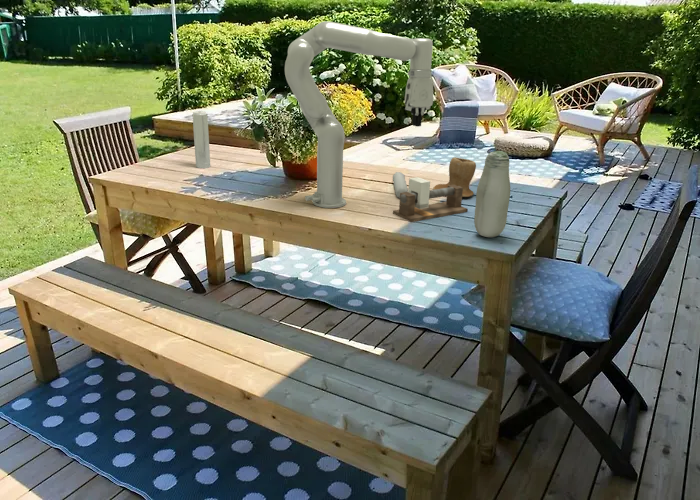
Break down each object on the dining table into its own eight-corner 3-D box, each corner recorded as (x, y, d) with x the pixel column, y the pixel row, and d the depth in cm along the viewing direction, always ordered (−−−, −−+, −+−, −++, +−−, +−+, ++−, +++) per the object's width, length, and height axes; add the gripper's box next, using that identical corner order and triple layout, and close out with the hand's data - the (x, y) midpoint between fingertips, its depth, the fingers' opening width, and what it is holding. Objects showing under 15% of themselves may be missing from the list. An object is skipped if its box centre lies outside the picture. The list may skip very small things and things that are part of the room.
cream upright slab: (419, 209, 215) (421, 182, 211) (407, 204, 220) (409, 178, 217) (428, 207, 217) (430, 181, 213) (416, 202, 222) (418, 177, 219)
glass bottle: (494, 243, 194) (505, 156, 184) (467, 235, 200) (475, 151, 190) (509, 236, 201) (520, 151, 191) (482, 228, 207) (491, 147, 197)
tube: (411, 190, 237) (406, 174, 260) (398, 185, 237) (395, 170, 260) (406, 202, 239) (402, 185, 262) (393, 198, 238) (390, 181, 262)
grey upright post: (208, 168, 278) (205, 112, 269) (194, 168, 278) (190, 112, 269) (211, 165, 284) (208, 110, 275) (197, 164, 284) (194, 110, 275)
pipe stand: (411, 222, 212) (412, 198, 209) (392, 213, 221) (393, 190, 218) (467, 211, 225) (469, 189, 222) (447, 204, 234) (449, 182, 231)
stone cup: (478, 194, 248) (482, 158, 242) (466, 201, 239) (469, 163, 233) (444, 188, 256) (447, 153, 250) (431, 194, 247) (434, 157, 241)
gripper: (409, 76, 212) (406, 128, 219) (442, 75, 220) (438, 126, 227) (397, 74, 218) (394, 125, 225) (429, 73, 226) (426, 123, 232)
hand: (416, 125), depth 226 cm, fingers closed
